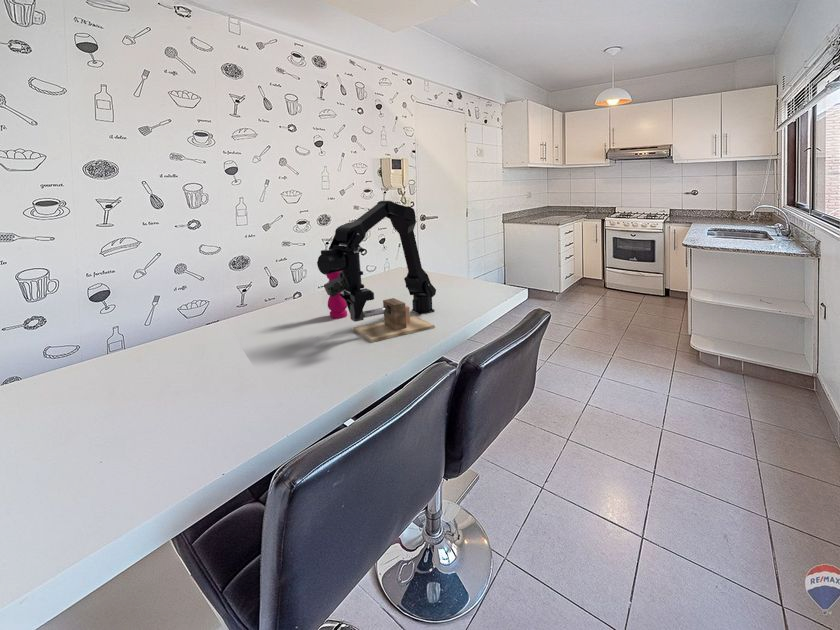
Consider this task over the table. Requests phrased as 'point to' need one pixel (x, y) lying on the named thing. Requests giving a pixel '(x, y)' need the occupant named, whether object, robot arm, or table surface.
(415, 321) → the base plate
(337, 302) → the pepper mill
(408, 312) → the spacer
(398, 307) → the bearing block
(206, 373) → the table surface
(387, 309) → the shaft
